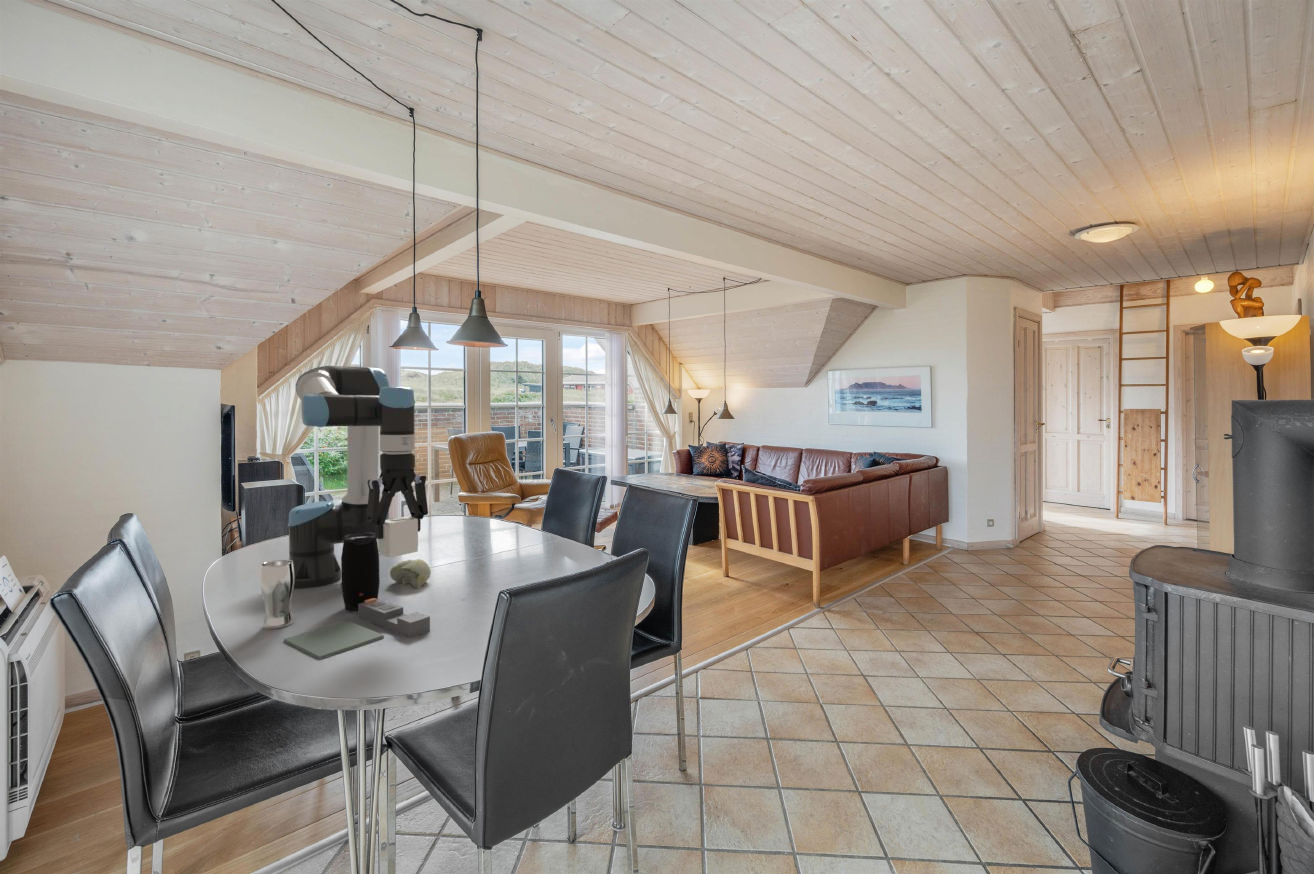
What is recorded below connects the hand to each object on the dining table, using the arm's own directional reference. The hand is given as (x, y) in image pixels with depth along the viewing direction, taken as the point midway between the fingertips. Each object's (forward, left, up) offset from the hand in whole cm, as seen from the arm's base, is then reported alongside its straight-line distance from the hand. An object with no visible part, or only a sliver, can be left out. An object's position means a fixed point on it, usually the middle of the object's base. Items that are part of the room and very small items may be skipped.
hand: (398, 548), depth 138 cm
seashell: (-28, +22, -19) cm, 41 cm away
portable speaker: (-21, +2, -19) cm, 28 cm away
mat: (-5, -13, -19) cm, 23 cm away
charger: (0, 0, -1) cm, 1 cm away
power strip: (-3, 0, -19) cm, 19 cm away
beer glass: (-25, -16, -19) cm, 35 cm away
